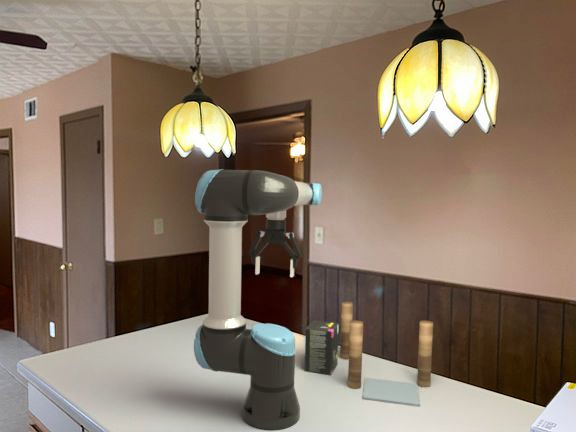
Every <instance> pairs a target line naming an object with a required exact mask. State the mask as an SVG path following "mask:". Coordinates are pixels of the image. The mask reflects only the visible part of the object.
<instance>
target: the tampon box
mask: <svg viewBox="0 0 576 432" xmlns="http://www.w3.org/2000/svg"><path fill="white" fill-rule="evenodd" d="M339 327H340V323H339V322H331V321H323V320H315V319H314V320H313V321H312V322H310V324H309V325H307V327H306V328H305V337H304V338H305V340H304V341H305V346H304V348H305V349H304V351H305V352H304V371H305V372H311V373H315V374H316V373H317V374H320V375H321V374H322V375H328V376H332V374H333V372H334V371H335V369H336V368H337V366H338V356H339V355H338V352H339V351H338V350H339V333H340V332H339V329H340V328H339Z"/></svg>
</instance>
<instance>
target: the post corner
mask: <svg viewBox="0 0 576 432" xmlns="http://www.w3.org/2000/svg"><path fill="white" fill-rule="evenodd" d="M363 337H364V321H361V320H352V321H350V339H349V359H348V370H347V371H348V375H347V387H348V388H349V389H352V390H359V389H361V388H362V369H363V367H362V366H363V365H362V363H363V342H364V341H363V339H364V338H363Z"/></svg>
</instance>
